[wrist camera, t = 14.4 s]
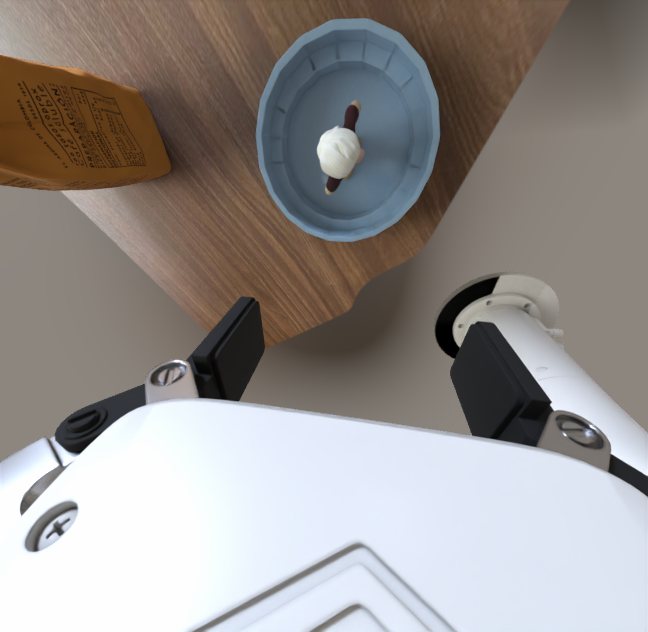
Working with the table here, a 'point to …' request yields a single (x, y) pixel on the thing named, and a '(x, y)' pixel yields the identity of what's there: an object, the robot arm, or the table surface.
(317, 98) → the bowl
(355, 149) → the grandmother figurine
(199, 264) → the table surface
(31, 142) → the coffee package
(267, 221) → the table surface
